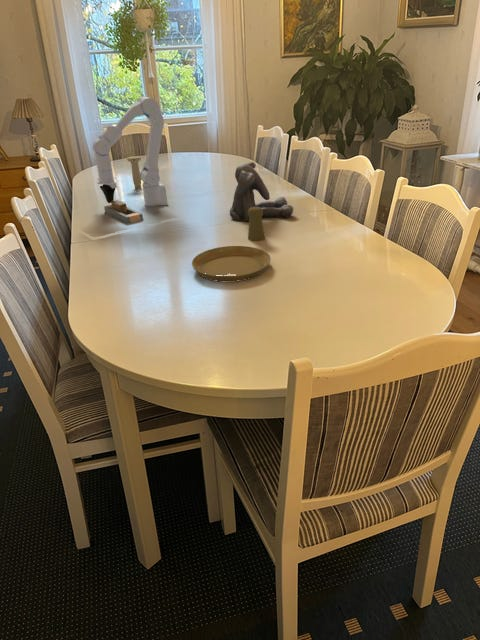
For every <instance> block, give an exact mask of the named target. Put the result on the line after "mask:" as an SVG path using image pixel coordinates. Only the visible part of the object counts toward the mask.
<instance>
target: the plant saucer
mask: <svg viewBox="0 0 480 640" xmlns="http://www.w3.org/2000/svg"><path fill="white" fill-rule="evenodd" d="M271 259H272V258H271V256H270V254H269V253H268V252H266V251H265V250H264V249H260V248H257V247H253V246H246V245H229V246H228V245H227V246H226V245H225V246H220V247H214V248H211V249H210V248H209V249H207V250H205V251H202V252H200V253H199V254H197V255H195V257H194V258H193V259H192V261H191V266H192V267H193V270H194V271H195V272H196V273H197V274H198V275H200V276H202V277H204V278H205V279H207V278H208V279H207V280H210V279H211V280H210V281H213V280H217V281H216V282H220V281H235V282H238V281H237V280H242V281H245V280H244V279H246V280H249V279H248V278H250V279H252V277H253V278H255V277H256V276H258V275H261V274H262V273H263V272H264V271H265V270H266V269H267V267H269V265H270V263H271ZM205 273H206V274H205ZM229 273H230V274H236V276H224V275H227V274H229ZM216 275H223V276H216ZM254 276H255V277H254Z"/></svg>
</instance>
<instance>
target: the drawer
mask: <svg viewBox="0 0 480 640" xmlns="http://www.w3.org/2000/svg"><path fill="white" fill-rule="evenodd" d="M110 205H112V209H114V210H116V211H119V212H121V213H123V214H125V215H128V213H127V207H128V206H127V203H126V202H123V201H121V200H119V199H117V200H113V201H111V203H110Z"/></svg>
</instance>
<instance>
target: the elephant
mask: <svg viewBox="0 0 480 640" xmlns="http://www.w3.org/2000/svg"><path fill="white" fill-rule="evenodd" d="M256 166H257V164H256V163H255V162H254V161H250V162H247V163H242V164H240V165H238V166H237V167H236V169H235V172H234V177H235V179H236V183H237V185H236V187H235V189H234V190H235V191H234V195H233V201H232V205H231V207H230V209H229V215H230V218H231V219H232V220H234V221H236V222H237V221H238V222H248V223H249V221H250V217H249V215H248V210H249V209H250V208H251V207H260V208H262V210H263V215H262V219H263V218H289V217H291V216H292V215H293V213H294V207H293V205H291V204H288V201H287V199H286V197H284V196H280V197H278V198H277V199H275V200H274V201H272V200H271V201H270V196H271V195H270V192H269V190H268V188H267V186H266V184H265V183H264V180H263V178H261V175H260V174H259V173H258V172H257V170H256V169H255V168H256ZM254 190H255V191H257V192H258V193H259V194H260V197H261V198H262V199H264V200H265V201H261V202H258V203H256V201H255V193H254Z"/></svg>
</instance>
